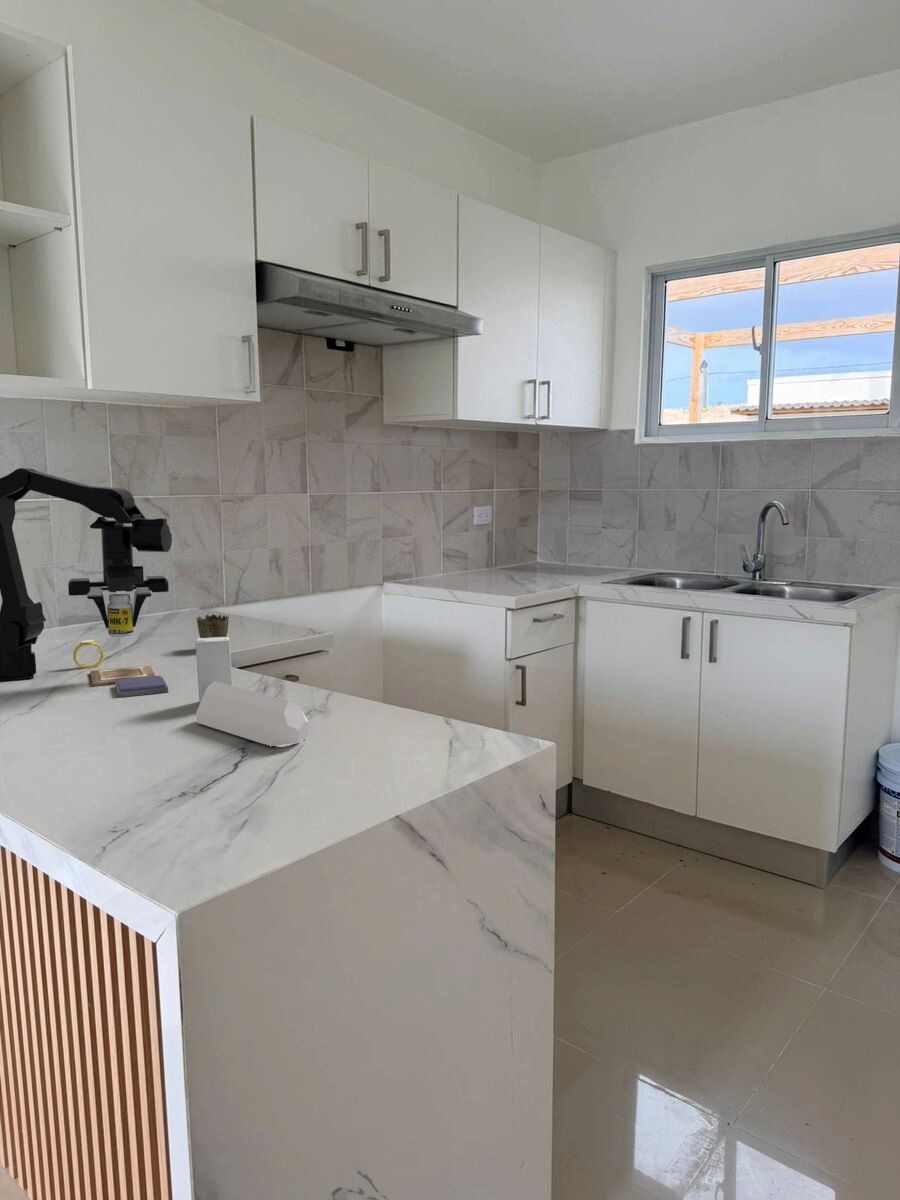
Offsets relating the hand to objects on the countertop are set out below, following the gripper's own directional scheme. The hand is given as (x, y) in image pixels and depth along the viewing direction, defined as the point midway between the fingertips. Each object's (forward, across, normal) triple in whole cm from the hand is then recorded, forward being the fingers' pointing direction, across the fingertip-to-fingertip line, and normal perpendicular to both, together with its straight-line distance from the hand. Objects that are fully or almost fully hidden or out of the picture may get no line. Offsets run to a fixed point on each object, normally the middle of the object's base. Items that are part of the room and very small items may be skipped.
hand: (120, 627), depth 171 cm
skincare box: (+11, +14, -28) cm, 33 cm away
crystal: (+11, +17, -48) cm, 52 cm away
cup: (+11, +22, +22) cm, 33 cm away
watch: (+11, -6, +14) cm, 19 cm away
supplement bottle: (+2, 0, 0) cm, 2 cm away
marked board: (+11, 0, +1) cm, 11 cm away
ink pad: (+11, +3, -11) cm, 16 cm away
